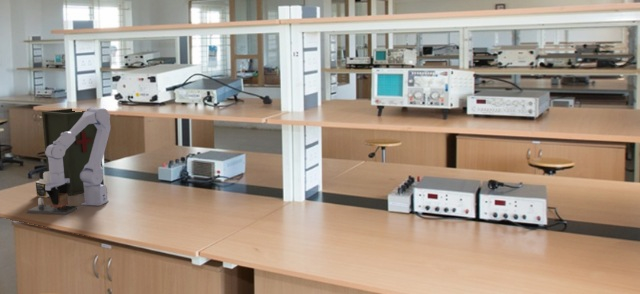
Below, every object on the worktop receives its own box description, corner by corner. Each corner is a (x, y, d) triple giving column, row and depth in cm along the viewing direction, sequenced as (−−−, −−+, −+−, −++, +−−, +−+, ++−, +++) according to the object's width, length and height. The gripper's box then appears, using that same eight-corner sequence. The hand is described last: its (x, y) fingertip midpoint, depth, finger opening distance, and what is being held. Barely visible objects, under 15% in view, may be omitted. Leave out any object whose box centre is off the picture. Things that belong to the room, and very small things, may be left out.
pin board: (77, 208, 250) (76, 196, 249) (65, 214, 242) (64, 201, 241) (40, 207, 253) (39, 194, 252) (27, 212, 245) (26, 199, 244)
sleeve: (68, 204, 249) (67, 193, 248) (61, 207, 244) (60, 196, 243) (57, 203, 249) (56, 192, 249) (50, 207, 245) (49, 195, 244)
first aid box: (71, 195, 273) (65, 113, 266) (48, 190, 282) (41, 111, 276) (104, 187, 288) (98, 110, 282) (81, 183, 298) (75, 108, 291)
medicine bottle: (36, 196, 272) (34, 171, 270) (49, 192, 279) (47, 169, 277) (46, 197, 269) (44, 173, 267) (59, 194, 275) (57, 170, 273)
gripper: (58, 168, 252) (61, 197, 254) (37, 175, 238) (40, 206, 240) (73, 168, 251) (75, 198, 253) (52, 176, 236) (55, 207, 239)
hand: (59, 202), depth 246 cm, fingers closed on sleeve, 5 cm apart
